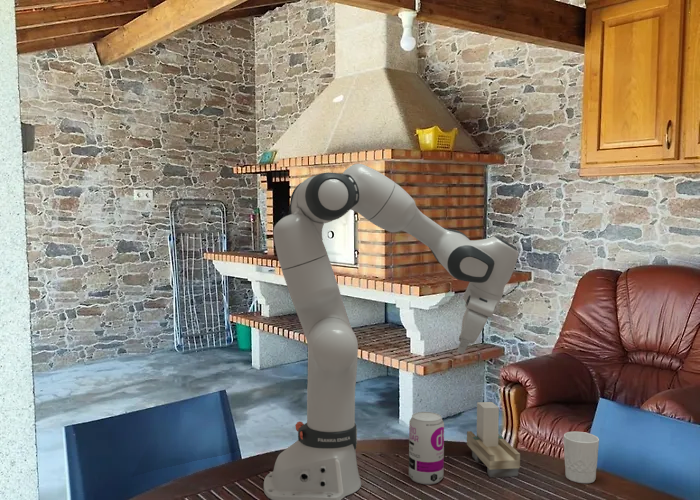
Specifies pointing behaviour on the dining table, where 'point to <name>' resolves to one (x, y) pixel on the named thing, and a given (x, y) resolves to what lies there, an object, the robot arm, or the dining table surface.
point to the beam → (495, 456)
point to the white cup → (580, 456)
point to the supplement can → (426, 448)
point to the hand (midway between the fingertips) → (460, 346)
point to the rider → (487, 423)
